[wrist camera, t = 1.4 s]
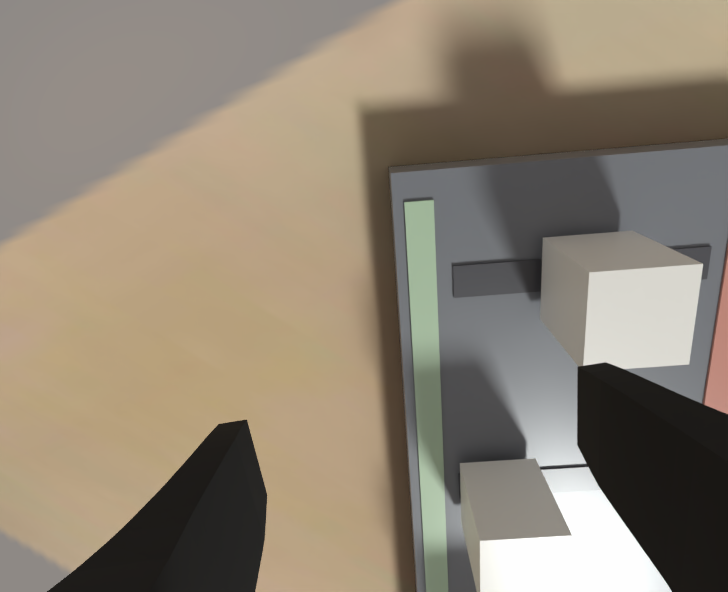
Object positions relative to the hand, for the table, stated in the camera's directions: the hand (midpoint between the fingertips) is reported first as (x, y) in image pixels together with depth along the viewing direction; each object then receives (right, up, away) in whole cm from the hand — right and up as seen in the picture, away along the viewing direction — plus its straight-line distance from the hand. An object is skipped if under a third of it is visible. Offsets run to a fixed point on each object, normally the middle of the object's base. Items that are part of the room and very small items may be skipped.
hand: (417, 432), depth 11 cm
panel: (+7, -4, +12) cm, 15 cm away
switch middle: (+4, -5, +10) cm, 12 cm away
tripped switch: (+7, +4, +7) cm, 10 cm away
